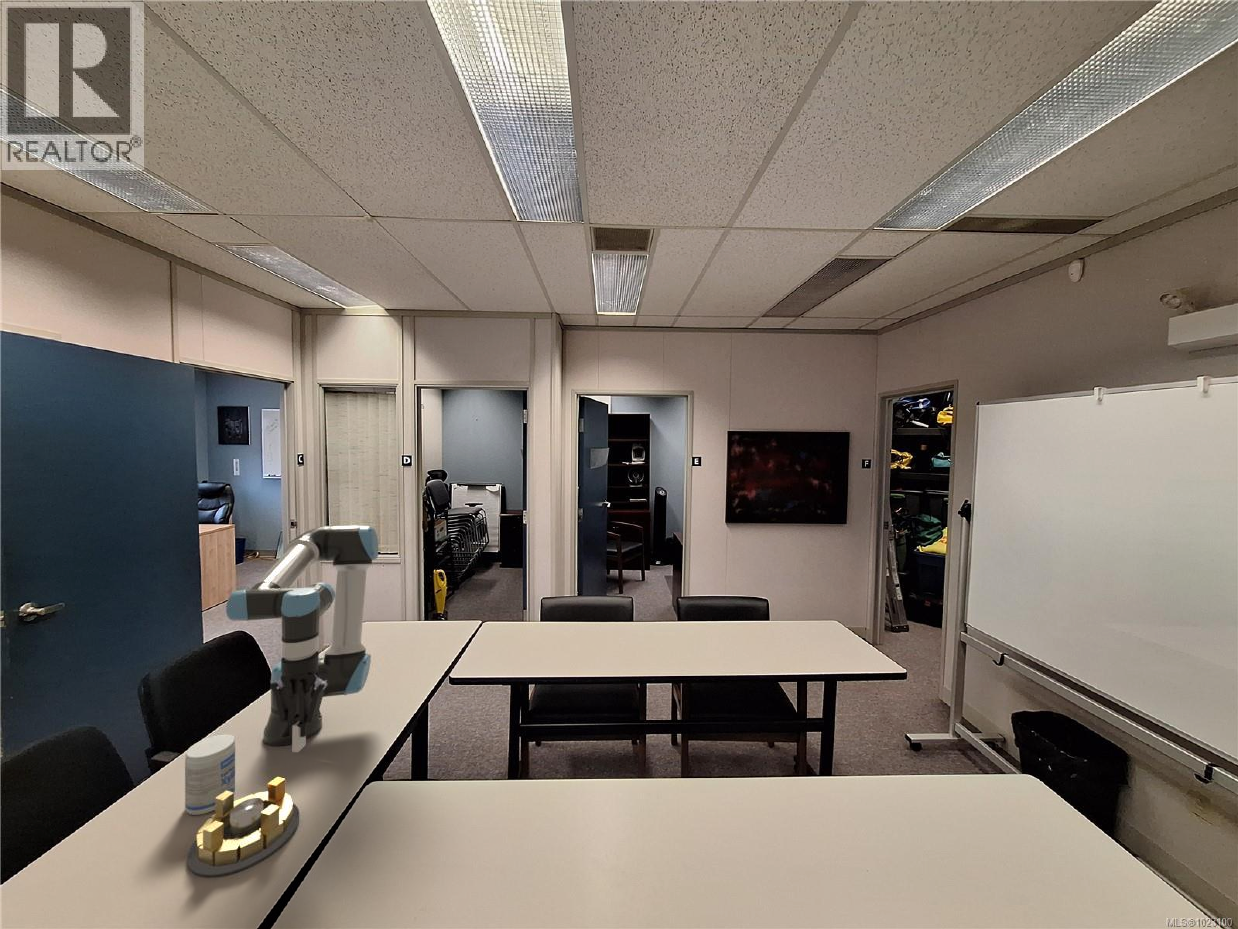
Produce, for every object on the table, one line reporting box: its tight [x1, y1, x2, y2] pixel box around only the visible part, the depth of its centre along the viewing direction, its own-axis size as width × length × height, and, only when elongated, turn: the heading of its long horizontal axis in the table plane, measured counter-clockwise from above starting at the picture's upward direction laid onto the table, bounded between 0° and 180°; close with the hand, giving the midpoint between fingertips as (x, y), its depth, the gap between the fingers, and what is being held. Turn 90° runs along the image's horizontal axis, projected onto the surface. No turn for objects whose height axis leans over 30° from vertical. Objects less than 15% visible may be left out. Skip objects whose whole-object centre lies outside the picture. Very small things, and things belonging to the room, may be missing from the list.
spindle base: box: [187, 798, 300, 878], centre depth 106 cm, size 20×20×7 cm
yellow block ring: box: [196, 776, 293, 866], centre depth 106 cm, size 17×17×7 cm
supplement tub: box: [184, 734, 236, 816], centre depth 115 cm, size 10×10×15 cm
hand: (298, 748), depth 112 cm, fingers closed
